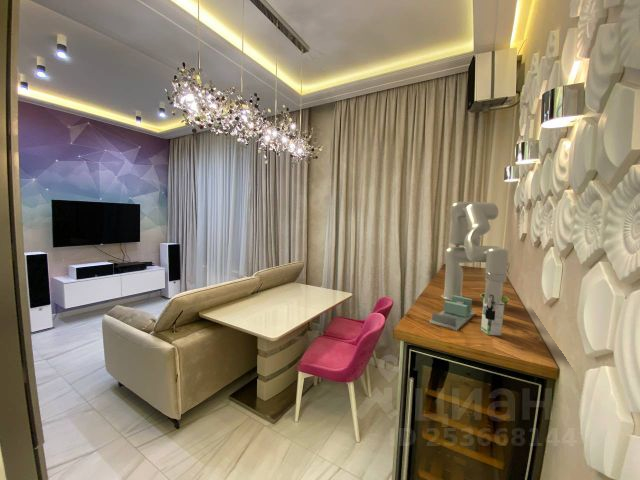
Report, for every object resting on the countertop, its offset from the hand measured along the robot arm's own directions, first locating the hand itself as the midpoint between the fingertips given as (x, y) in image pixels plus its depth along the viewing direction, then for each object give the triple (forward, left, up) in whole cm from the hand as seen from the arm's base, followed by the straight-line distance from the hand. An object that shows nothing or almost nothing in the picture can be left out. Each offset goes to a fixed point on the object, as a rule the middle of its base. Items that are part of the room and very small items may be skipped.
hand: (492, 316), depth 114 cm
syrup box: (0, 0, -8) cm, 8 cm away
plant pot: (-18, -3, -8) cm, 20 cm away
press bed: (-5, -17, -7) cm, 19 cm away
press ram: (-12, -17, -6) cm, 22 cm away
